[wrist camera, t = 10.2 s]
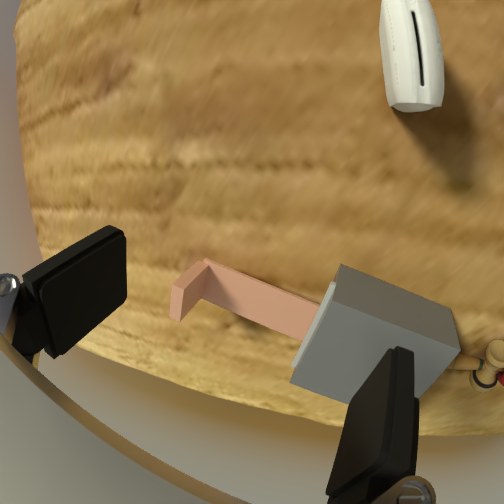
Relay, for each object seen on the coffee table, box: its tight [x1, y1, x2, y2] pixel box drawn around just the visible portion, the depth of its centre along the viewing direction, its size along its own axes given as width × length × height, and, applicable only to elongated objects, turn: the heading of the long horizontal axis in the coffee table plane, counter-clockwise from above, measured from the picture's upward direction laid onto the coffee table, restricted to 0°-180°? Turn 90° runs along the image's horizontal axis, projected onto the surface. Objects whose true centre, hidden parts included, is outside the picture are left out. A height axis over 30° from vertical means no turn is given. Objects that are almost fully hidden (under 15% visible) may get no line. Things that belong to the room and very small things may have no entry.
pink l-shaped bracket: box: [169, 258, 320, 342], centre depth 36 cm, size 18×6×6 cm, turn 76°
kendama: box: [446, 340, 504, 393], centre depth 33 cm, size 8×6×18 cm
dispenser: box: [289, 264, 461, 404], centre depth 36 cm, size 17×14×8 cm
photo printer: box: [379, 0, 444, 112], centre depth 20 cm, size 10×4×12 cm, turn 5°
